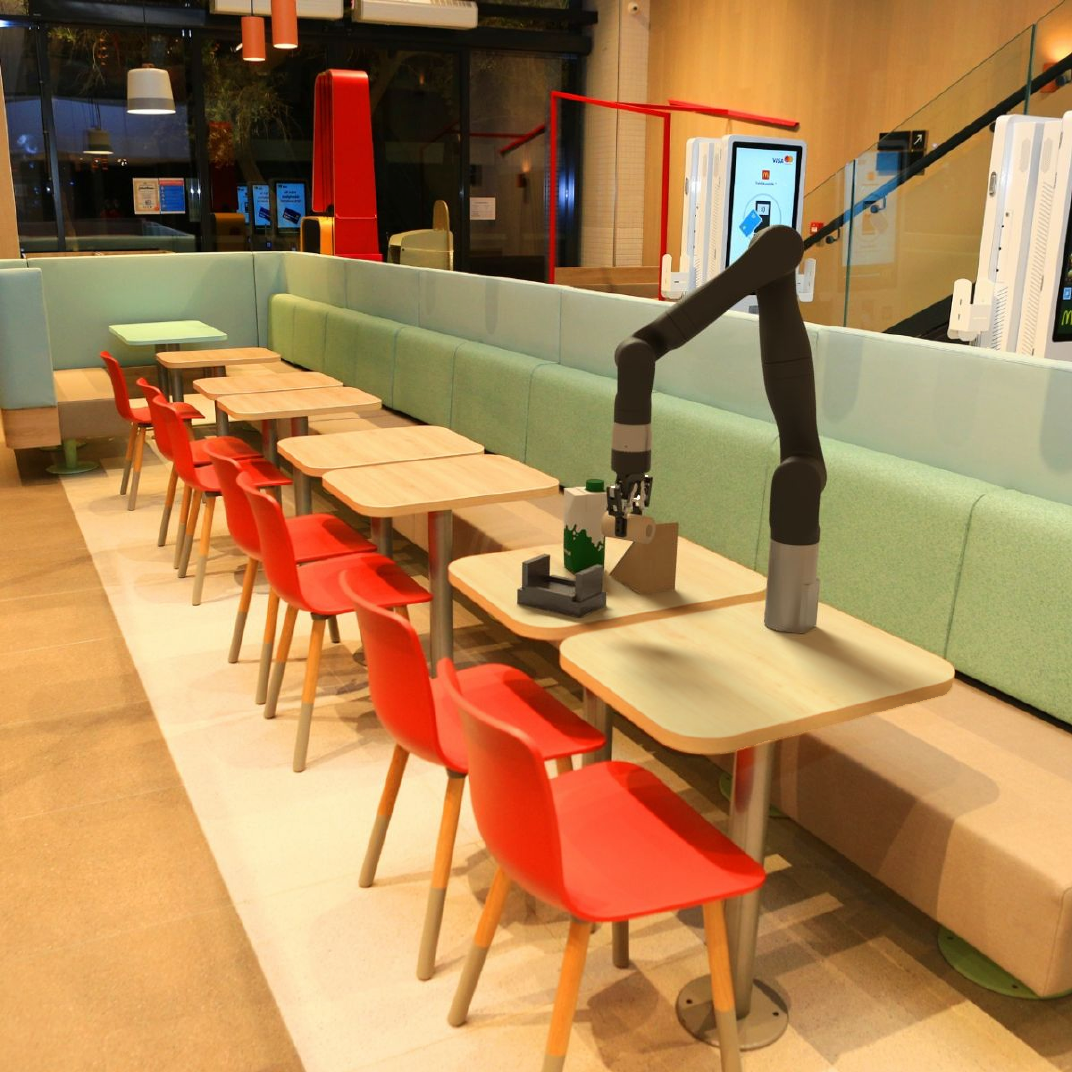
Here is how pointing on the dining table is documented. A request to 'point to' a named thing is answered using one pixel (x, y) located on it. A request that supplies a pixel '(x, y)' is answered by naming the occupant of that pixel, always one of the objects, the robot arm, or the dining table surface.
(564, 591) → the roll holder
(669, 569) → the sandwich container
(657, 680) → the dining table surface
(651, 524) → the paper roll
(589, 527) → the milk carton
